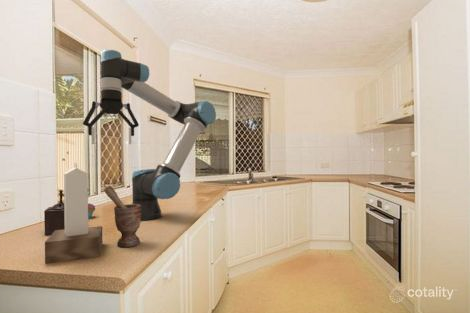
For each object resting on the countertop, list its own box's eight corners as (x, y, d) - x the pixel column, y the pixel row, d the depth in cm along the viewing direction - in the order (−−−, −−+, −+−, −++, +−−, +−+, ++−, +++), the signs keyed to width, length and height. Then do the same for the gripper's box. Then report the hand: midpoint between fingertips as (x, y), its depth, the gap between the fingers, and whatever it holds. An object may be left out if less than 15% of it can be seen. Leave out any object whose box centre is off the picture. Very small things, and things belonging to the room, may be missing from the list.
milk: (66, 237, 88) (64, 163, 87) (64, 232, 93) (63, 163, 92) (88, 233, 91) (87, 162, 91) (86, 229, 96) (84, 162, 96)
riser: (102, 243, 101) (102, 226, 101) (99, 256, 88) (99, 236, 88) (55, 248, 96) (55, 230, 96) (45, 263, 83) (44, 242, 83)
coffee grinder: (43, 236, 111) (42, 188, 111) (48, 229, 121) (47, 185, 121) (88, 231, 117) (88, 186, 117) (90, 225, 127) (89, 184, 127)
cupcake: (99, 217, 143) (98, 192, 143) (82, 220, 136) (81, 195, 136) (89, 215, 148) (88, 191, 148) (72, 218, 141) (71, 193, 141)
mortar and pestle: (104, 251, 93) (104, 188, 93) (104, 243, 101) (104, 185, 101) (142, 246, 98) (142, 186, 97) (139, 239, 105) (139, 183, 105)
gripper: (143, 94, 124) (144, 144, 125) (77, 90, 115) (78, 144, 116) (144, 90, 117) (145, 143, 118) (74, 86, 108) (75, 143, 109)
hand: (112, 144), depth 117 cm, fingers open, 13 cm apart
